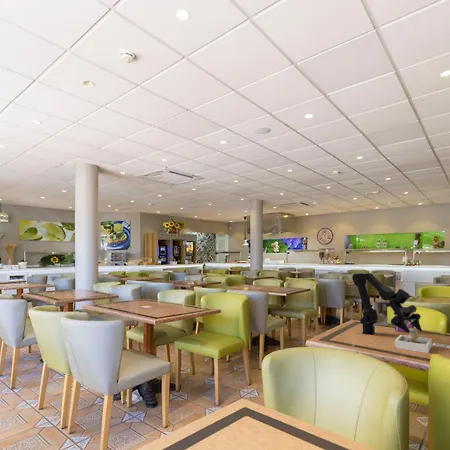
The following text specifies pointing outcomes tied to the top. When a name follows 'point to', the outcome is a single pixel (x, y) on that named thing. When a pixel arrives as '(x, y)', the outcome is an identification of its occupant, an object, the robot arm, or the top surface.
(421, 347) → the bore box
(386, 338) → the top surface
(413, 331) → the peg
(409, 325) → the candy bar box
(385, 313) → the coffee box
